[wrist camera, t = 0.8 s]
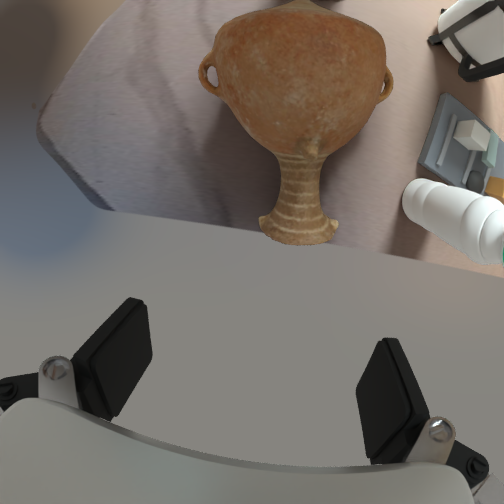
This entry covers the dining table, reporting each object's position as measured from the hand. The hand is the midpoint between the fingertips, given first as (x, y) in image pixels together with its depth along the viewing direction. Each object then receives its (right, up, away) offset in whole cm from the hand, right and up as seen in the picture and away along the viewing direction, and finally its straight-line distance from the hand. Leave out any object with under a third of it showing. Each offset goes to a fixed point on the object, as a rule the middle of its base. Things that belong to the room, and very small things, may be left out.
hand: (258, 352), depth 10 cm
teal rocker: (+37, +20, +17) cm, 45 cm away
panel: (+36, +19, +22) cm, 47 cm away
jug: (+6, +22, +26) cm, 34 cm away
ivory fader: (+32, +22, +19) cm, 43 cm away
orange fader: (+40, +14, +21) cm, 47 cm away
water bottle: (+26, +12, +26) cm, 39 cm away
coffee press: (+35, +39, +16) cm, 54 cm away
